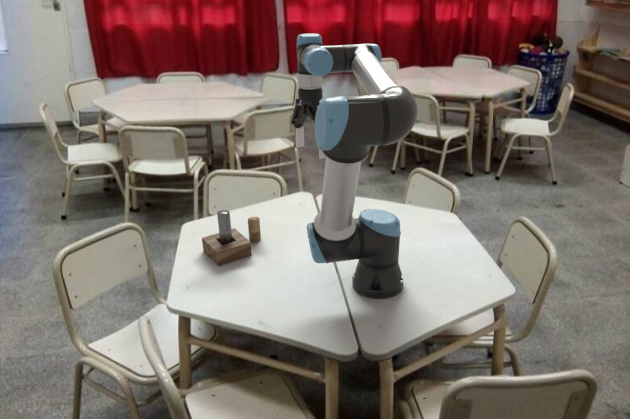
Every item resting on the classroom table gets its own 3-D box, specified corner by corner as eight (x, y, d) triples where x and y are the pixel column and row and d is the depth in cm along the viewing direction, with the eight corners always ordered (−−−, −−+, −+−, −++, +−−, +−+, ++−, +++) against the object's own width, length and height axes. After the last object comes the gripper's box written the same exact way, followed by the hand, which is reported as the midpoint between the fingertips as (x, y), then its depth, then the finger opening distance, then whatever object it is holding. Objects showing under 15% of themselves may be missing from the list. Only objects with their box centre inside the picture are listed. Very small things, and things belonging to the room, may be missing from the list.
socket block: (251, 255, 182) (250, 242, 179) (218, 266, 176) (216, 252, 173) (235, 241, 191) (234, 228, 188) (203, 250, 185) (201, 237, 183)
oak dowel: (262, 240, 191) (261, 219, 187) (252, 243, 189) (251, 222, 185) (257, 235, 194) (256, 215, 190) (247, 239, 192) (245, 218, 188)
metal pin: (235, 251, 182) (231, 213, 176) (224, 254, 180) (220, 216, 174) (230, 246, 185) (226, 208, 179) (219, 249, 183) (215, 212, 177)
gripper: (344, 92, 161) (343, 160, 170) (298, 78, 180) (300, 140, 189) (323, 96, 157) (323, 165, 166) (279, 81, 176) (281, 144, 185)
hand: (311, 152), depth 178 cm, fingers open, 13 cm apart
